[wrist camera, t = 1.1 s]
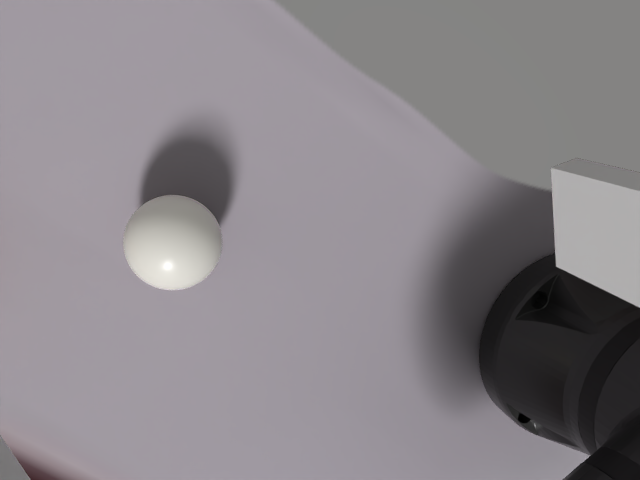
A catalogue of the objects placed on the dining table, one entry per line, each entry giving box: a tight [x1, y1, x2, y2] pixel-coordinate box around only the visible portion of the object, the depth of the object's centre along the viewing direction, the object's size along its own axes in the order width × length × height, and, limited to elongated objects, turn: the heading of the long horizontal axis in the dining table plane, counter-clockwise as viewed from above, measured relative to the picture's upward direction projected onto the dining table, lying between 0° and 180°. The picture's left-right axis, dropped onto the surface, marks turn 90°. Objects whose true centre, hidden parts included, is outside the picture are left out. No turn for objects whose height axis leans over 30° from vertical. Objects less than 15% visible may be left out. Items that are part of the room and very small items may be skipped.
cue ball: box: [123, 195, 222, 290], centre depth 29 cm, size 6×6×6 cm
